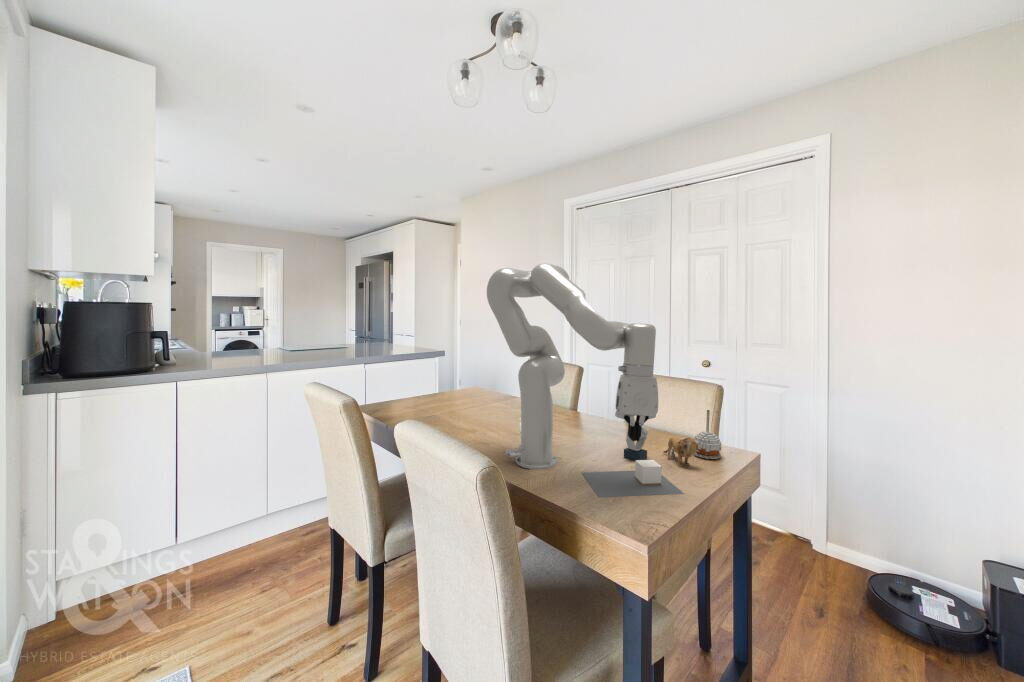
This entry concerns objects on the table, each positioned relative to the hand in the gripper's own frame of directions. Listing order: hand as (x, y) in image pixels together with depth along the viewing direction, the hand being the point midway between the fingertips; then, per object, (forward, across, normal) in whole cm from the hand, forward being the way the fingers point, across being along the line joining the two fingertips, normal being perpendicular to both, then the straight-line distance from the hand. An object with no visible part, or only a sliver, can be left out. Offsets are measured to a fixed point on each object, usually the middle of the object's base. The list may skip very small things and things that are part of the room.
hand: (634, 439), depth 110 cm
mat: (+12, -1, -1) cm, 12 cm away
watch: (+12, +8, +17) cm, 23 cm away
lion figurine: (+12, +21, +14) cm, 28 cm away
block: (+6, +4, -1) cm, 7 cm away
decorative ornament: (+12, +32, +18) cm, 39 cm away
